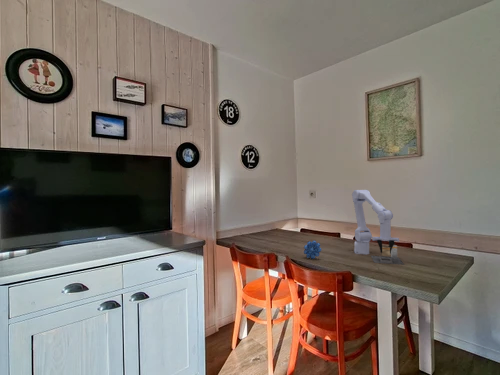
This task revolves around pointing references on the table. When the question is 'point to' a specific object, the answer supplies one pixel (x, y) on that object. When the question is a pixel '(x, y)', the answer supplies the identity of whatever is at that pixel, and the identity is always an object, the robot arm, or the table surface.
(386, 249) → the taped cardboard box
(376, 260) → the base board
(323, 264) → the table surface
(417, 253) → the table surface
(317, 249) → the grapes
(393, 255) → the post
